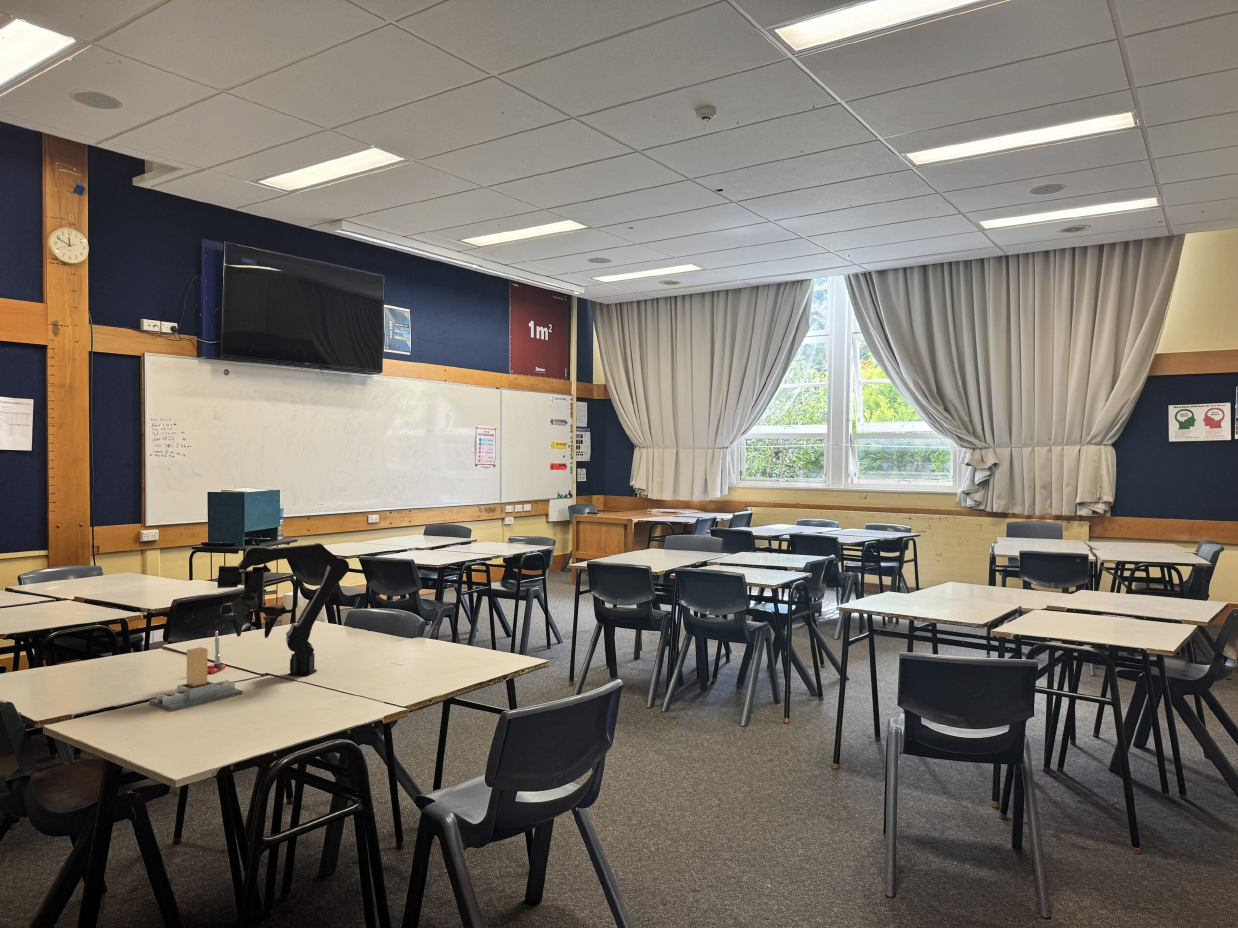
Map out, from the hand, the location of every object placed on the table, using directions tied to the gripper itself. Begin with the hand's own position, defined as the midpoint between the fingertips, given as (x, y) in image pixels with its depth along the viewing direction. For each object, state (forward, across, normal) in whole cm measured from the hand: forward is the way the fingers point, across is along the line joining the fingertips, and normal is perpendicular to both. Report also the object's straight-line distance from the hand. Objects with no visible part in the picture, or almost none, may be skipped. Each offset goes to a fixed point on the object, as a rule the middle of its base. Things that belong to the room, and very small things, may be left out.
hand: (252, 636), depth 245 cm
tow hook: (+14, -20, +6) cm, 25 cm away
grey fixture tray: (+13, -3, -22) cm, 25 cm away
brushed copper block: (+12, -3, -22) cm, 25 cm away
